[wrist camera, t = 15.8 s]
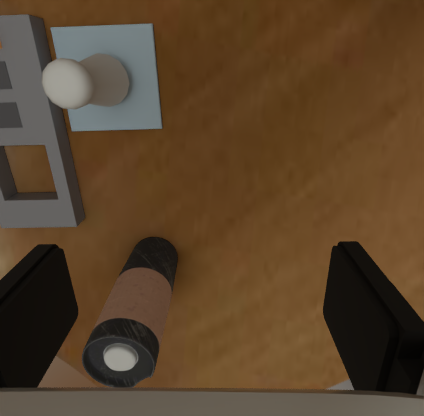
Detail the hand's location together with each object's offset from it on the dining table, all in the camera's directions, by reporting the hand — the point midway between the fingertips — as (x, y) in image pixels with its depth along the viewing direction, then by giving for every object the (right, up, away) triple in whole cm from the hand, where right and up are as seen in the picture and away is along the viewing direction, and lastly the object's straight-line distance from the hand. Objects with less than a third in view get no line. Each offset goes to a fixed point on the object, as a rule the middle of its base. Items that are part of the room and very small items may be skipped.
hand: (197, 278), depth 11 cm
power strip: (-25, +13, +31) cm, 42 cm away
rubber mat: (-12, +19, +29) cm, 36 cm away
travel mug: (-9, -5, +39) cm, 40 cm away
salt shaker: (-12, +18, +28) cm, 36 cm away
